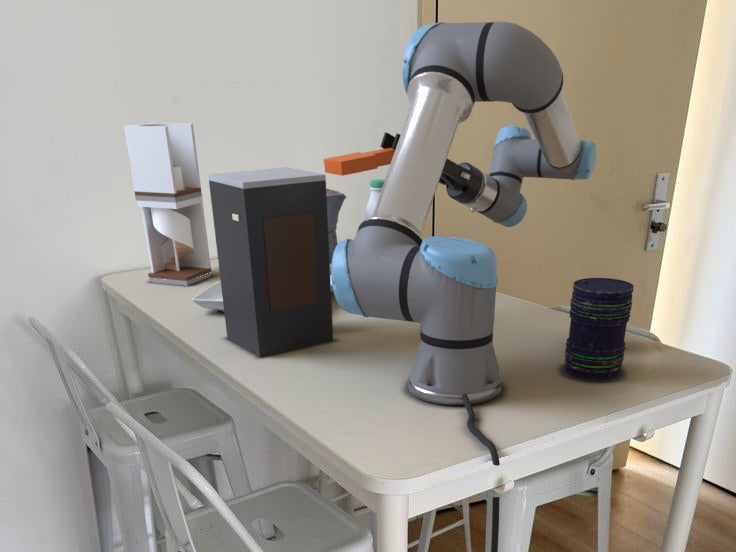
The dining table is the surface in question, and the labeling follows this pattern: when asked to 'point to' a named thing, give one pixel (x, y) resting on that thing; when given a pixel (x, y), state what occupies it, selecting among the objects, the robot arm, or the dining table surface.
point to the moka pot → (333, 217)
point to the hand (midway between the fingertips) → (389, 140)
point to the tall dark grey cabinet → (273, 258)
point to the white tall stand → (169, 201)
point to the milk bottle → (373, 196)
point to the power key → (358, 162)
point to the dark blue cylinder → (597, 329)
